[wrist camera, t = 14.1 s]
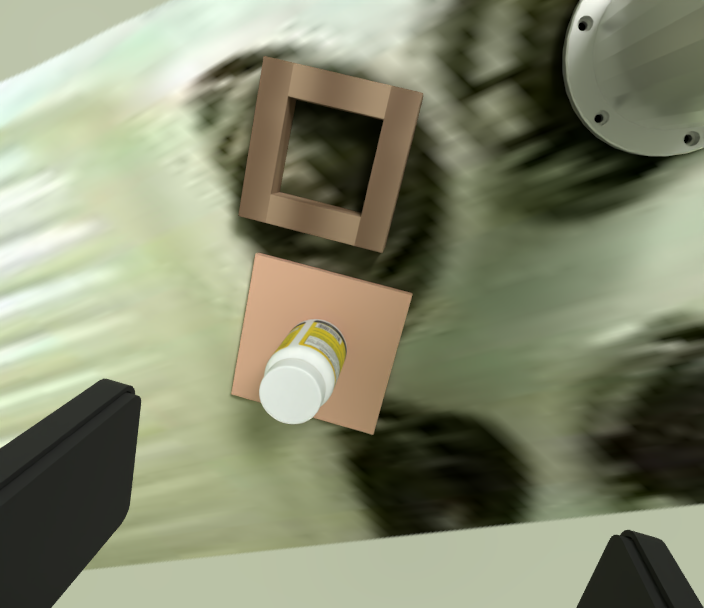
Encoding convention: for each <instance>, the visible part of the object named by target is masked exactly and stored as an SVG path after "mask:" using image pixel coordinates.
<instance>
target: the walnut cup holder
mask: <svg viewBox="0 0 704 608" xmlns="http://www.w3.org/2000/svg"><path fill="white" fill-rule="evenodd" d="M296 100H300V101H305V102H309V103H313V104H317V105H321V106H326V107H330V108H334V109H338V110H342V111H346V112H351V113H355V114H359V115H363V116H367V117H372V118H376V119H380V120H384V121H383V125H382V129H381V134H380V138H379V142H378V146H377V151H376V155H375V159H374V163H373V168H372V172H371V176H370V180H369V185H368V189H367V193H366V197H365V202H364V206H363V210H362V213H360V212H356V211H352V210H349V209H345V208H341V207H337V206H333V205H329V204H325V203H321V202H317V201H313V200H309V199H305V198H301V197H297V196H293V195H289V194H285V193H281V192H280V188H281V182H282V177H283V171H284V166H285V160H286V155H287V149H288V144H289V138H290V133H291V127H292V122H293V116H294V111H295V105H296ZM422 100H423V93H421V92H416V91H412V90H408V89H403V88H399V87H395V86H391V85H386V84H382V83H378V82H373V81H369V80H365V79H361V78H356V77H352V76H348V75H343V74H339V73H335V72H331V71H326V70H322V69H318V68H313V67H309V66H305V65H301V64H296V63H292V62H288V61H284V60H279V59H275V58H271V57H266V56H264V58H263V64H262V70H261V77H260V83H259V89H258V96H257V102H256V108H255V114H254V121H253V127H252V133H251V140H250V146H249V152H248V159H247V165H246V171H245V177H244V184H243V190H242V196H241V203H240V209H239V215H238V216H241V217H245V218H249V219H253V220H257V221H261V222H264V223H268V224H272V225H276V226H280V227H284V228H288V229H292V230H295V231H299V232H303V233H307V234H311V235H315V236H319V237H322V238H326V239H330V240H334V241H338V242H342V243H346V244H350V245H353V246H357V247H361V248H365V249H369V250H373V251H377V252H380V253H383V251H384V249H385V246H386V242H387V238H388V234H389V230H390V226H391V222H392V218H393V214H394V210H395V206H396V202H397V199H398V195H399V191H400V187H401V183H402V179H403V175H404V171H405V167H406V163H407V159H408V155H409V151H410V147H411V143H412V140H413V136H414V132H415V128H416V124H417V120H418V116H419V112H420V108H421V104H422Z"/></svg>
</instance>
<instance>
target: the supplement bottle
mask: <svg viewBox="0 0 704 608" xmlns="http://www.w3.org/2000/svg"><path fill="white" fill-rule="evenodd" d="M346 355H347V345H346V341H345V338H344V336H343V334H342V333H341V331H340V330H339V329H338V328H337V327H336V326H334V325H333V324H331V323H330V322H327V321H325V320H321V319H310V320H306V321H303V322H301V323H299V324H297V325H296V326H295V327H294V328H293V329H292V330H291V331H290V333H289V334H288V335H287V337H286V338H285V339H284V341H283V342H282V343H281V345H280V346H279V347H278V349H277V350H276V351H275V352H274V354H273V355H272V356H271V358H270V359H269V361H268V362H267V365H266V368H265V372H264V377H263V379H262V381H261V384H260V388H259V396H260V401H261V403H262V406H263V407H264V409H265V410H266V412H267V413H268V414H269V415H270V416H272V417H273V418H274V419H276V420H278V421H280V422H282V423H286V424H300V423H304V422H306V421H308V420H310V419H311V418H312V417H314V416H315V414H316V413H317V412H318V410H319V408H320V407H321V406H322V405H323V404H324V403H326V401H327V400H328V399H329V397H330V396H331V394H332V392H333V390H334V387H335V385H336V382H337V379H338V377H339V374H340V372H341V370H342V367H343V364H344V362H345V359H346Z"/></svg>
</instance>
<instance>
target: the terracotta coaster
mask: <svg viewBox="0 0 704 608" xmlns="http://www.w3.org/2000/svg"><path fill="white" fill-rule="evenodd" d="M411 298H412V293H410V292H406V291H402V290H398V289H395V288H391V287H387V286H383V285H380V284H376V283H372V282H368V281H364V280H361V279H357V278H353V277H349V276H345V275H342V274H338V273H334V272H330V271H326V270H323V269H319V268H315V267H311V266H307V265H304V264H300V263H296V262H292V261H288V260H285V259H281V258H277V257H273V256H269V255H266V254H262V253H256V254H255V260H254V266H253V272H252V278H251V283H250V289H249V295H248V301H247V306H246V312H245V318H244V324H243V329H242V335H241V341H240V347H239V352H238V358H237V364H236V370H235V376H234V381H233V387H232V393H231V394H232V395H236V396H239V397H243V398H246V399H250V400H253V401H257V402H260V403H261V401H260V396H259V388H260V384H261V381H262V379H263V377H264V372H265V368H266V365H267V362H268V361H269V359H270V358H271V356H272V355H273V354H274V352H275V351H276V350H277V349H278V347H279V346H280V345H281V343H282V342H283V341H284V339H285V338H286V337H287V335H288V334H289V333H290V331H291V330H292V329H293V328H294V327H295V326H296V325H297V324H299V323H301V322H303V321H306V320H310V319H321V320H325V321H327V322H330V323H331V324H333V325H334V326H336V327H337V328H338V329H339V330H340V331H341V333H342V334H343V336H344V338H345V341H346V345H347V355H346V359H345V362H344V364H343V367H342V370H341V372H340V374H339V377H338V379H337V382H336V385H335V387H334V390H333V392H332V394H331V396H330V397H329V399H328V400H327V401H326V403H324V404H323V405H322V406H321V407H320V408H319V410H318V412H317V413H316V414H315V416H314V417H313V418H316V419H320V420H323V421H327V422H330V423H334V424H337V425H341V426H344V427H348V428H351V429H355V430H358V431H362V432H365V433H369V434H372V435H373V434H374V430H375V426H376V423H377V419H378V416H379V412H380V409H381V405H382V401H383V398H384V394H385V391H386V387H387V384H388V380H389V376H390V373H391V369H392V366H393V362H394V359H395V355H396V352H397V348H398V344H399V341H400V337H401V334H402V330H403V327H404V323H405V319H406V316H407V312H408V309H409V305H410V302H411Z"/></svg>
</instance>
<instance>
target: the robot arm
mask: <svg viewBox="0 0 704 608" xmlns="http://www.w3.org/2000/svg"><path fill="white" fill-rule="evenodd" d="M579 23H583V24H585V30H584V31H580V30H579V28H578V25H579ZM562 73H563V78H564V84H565V89H566V93H567V96H568V98H569V100H570V103H571V105H572V108H573V110H574V112H575V113H576V114H577V116H578V117H579V119H580V120H581V122H582V123H583V125H584V126H585V127H586V128H587V129H588V130H589V131H590V132H592V133H593V134H594V135H595V136H596V137H597V138H598V139H600V140H602V141H603V142H605V143H607V144H608V145H610V146H612V147H613V148H616V149H619V150H622V151H625V152H628V153H631V154H637V155H645V156H671V155H678V154H685V153H690V152H693V151H696V150H699V149H702V148H704V0H579V2H578V3H577V5H576V7H575V9H574V11H573V14H572V17H571V19H570V22H569V25H568V28H567V30H566V36H565V41H564V46H563V58H562ZM596 115H600V116H601V121H600V122H599V123H596V122H595V120H594V118H595V116H596ZM685 135H687V136H688V137H689V140H688V142H687V143H684V137H685ZM140 409H141V398H140V397H139V396H137V395H135V390H134V388H133V387H132V386H130V385H126V384H123V383H119V382H116V381H112V380H109V379H102V380H100V381H98V382H97V383H95V384H94V385H92V386H91V387H89V388H88V389H87V390H85V391H84V392H82V393H81V394H79V395H78V396H76V397H75V398H73V399H72V400H70V401H69V402H68V403H66V404H65V405H63V406H62V407H60V408H59V409H57V410H56V411H54V412H53V413H51V414H50V415H49V416H47V417H46V418H44V419H43V420H41V421H40V422H38V423H37V424H35V425H34V426H32V427H31V428H30V429H28V430H27V431H25V432H24V433H22V434H21V435H19V436H18V437H16V438H15V439H13V440H12V441H11V442H9V443H8V444H6V445H5V446H3V447H2V448H0V608H51V607H52V606H53V605H54V604H55V603H56V601H57V600H58V599H59V598H60V597H61V595H62V594H63V593H64V592H65V591H66V589H67V588H68V587H69V586H70V585H71V583H72V582H73V581H74V580H75V579H76V578H77V576H78V575H79V574H80V573H81V572H82V570H83V569H84V568H85V567H86V566H87V564H88V563H89V562H90V561H91V560H92V558H93V557H94V556H95V555H96V554H97V552H98V551H99V550H100V549H101V548H102V546H103V545H104V544H105V543H106V542H107V540H108V539H109V538H110V537H111V536H112V534H113V533H114V532H115V531H116V530H117V528H118V527H119V526H120V525H121V523H122V522H123V520H124V519H125V517H126V515H127V512H128V510H129V506H130V499H131V490H132V481H133V472H134V463H135V454H136V445H137V436H138V427H139V418H140ZM577 608H703V606H702V604H701V603H700V601H699V599H698V598H697V596H696V594H695V593H694V591H693V589H692V588H691V586H690V584H689V583H688V581H687V579H686V578H685V576H684V574H683V573H682V571H681V569H680V568H679V566H678V564H677V563H676V561H675V559H674V558H673V556H672V554H671V553H670V551H669V550H668V548H667V546H666V545H665V543H664V542H663V541H662V540H660V539H658V538H655V537H652V536H648V535H644V534H641V533H638V532H635V531H631V530H625V531H624V532H622V533H621V535H620V536H619V535H613V536H612V537H611V538H610V540H609V542H608V544H607V546H606V548H605V550H604V552H603V554H602V556H601V558H600V560H599V562H598V565H597V566H596V569H595V571H594V573H593V575H592V577H591V579H590V581H589V583H588V585H587V587H586V589H585V591H584V593H583V595H582V597H581V599H580V602H579V603H578V605H577Z"/></svg>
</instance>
